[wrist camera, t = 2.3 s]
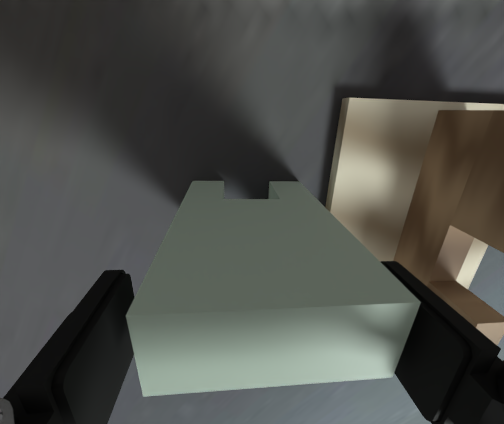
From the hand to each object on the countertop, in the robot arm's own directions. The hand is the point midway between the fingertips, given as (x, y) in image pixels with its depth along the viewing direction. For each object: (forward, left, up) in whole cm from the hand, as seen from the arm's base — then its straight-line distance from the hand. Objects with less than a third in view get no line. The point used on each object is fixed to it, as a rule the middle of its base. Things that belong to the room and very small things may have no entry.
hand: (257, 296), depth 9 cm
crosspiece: (-1, 0, -9) cm, 9 cm away
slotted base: (+1, +13, -9) cm, 16 cm away
